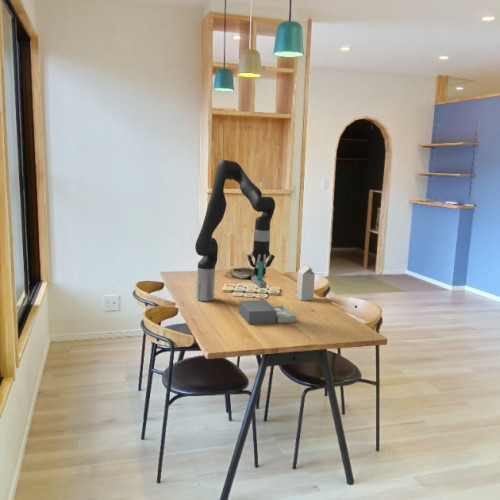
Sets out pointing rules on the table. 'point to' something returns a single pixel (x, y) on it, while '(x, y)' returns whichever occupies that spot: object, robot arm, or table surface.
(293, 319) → the box
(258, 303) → the block
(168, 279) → the table surface
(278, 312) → the ceramic tile
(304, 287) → the milk carton
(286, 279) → the table surface
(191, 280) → the table surface
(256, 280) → the scraper
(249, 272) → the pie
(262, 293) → the alphabet tiles
